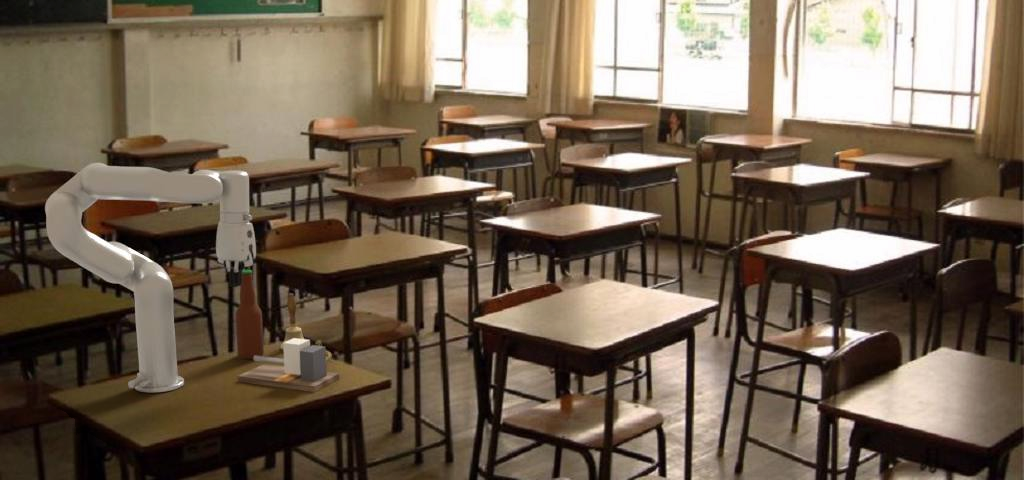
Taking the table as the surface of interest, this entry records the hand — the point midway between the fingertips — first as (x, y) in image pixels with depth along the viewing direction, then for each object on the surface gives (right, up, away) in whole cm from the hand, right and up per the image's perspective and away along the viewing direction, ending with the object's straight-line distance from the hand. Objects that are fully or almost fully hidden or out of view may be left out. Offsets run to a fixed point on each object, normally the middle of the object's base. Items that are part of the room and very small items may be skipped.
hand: (235, 285), depth 331 cm
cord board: (+14, -25, 0) cm, 29 cm away
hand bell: (+10, -19, +32) cm, 39 cm away
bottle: (-1, -21, +23) cm, 31 cm away
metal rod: (+12, -21, 0) cm, 24 cm away
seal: (+18, -22, +20) cm, 34 cm away
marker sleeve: (+17, -23, -2) cm, 28 cm away
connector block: (+21, -24, -3) cm, 32 cm away
